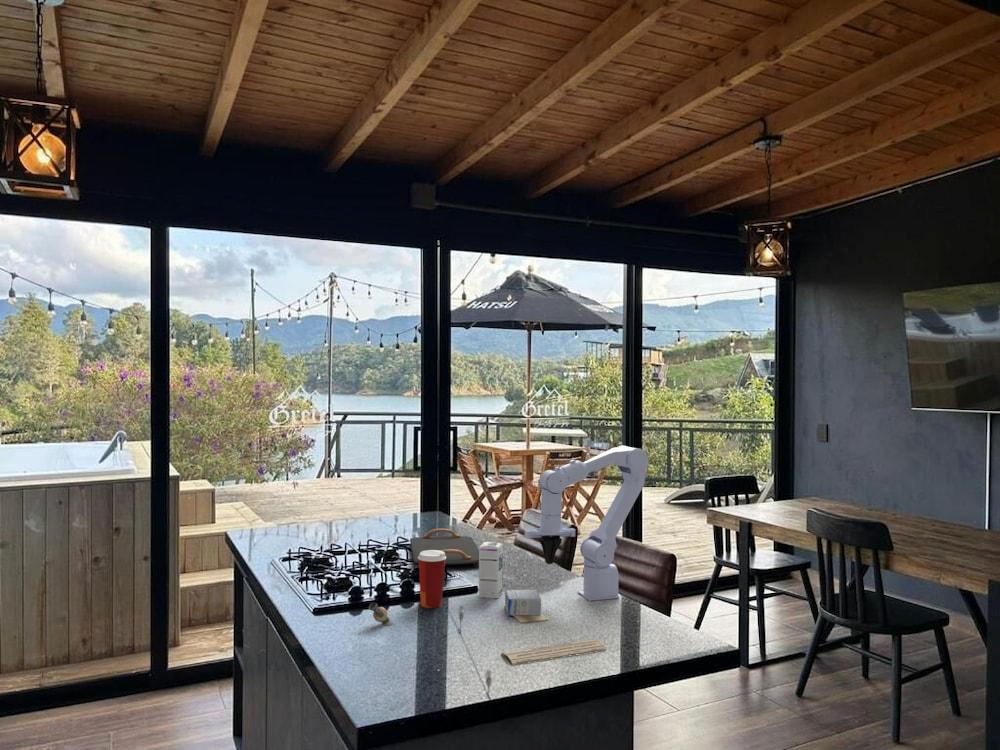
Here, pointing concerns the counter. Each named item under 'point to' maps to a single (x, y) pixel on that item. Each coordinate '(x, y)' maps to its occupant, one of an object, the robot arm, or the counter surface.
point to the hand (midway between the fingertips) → (549, 563)
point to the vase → (380, 614)
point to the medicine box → (522, 602)
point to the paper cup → (431, 577)
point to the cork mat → (530, 618)
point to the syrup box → (490, 569)
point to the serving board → (447, 547)
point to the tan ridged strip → (554, 651)
